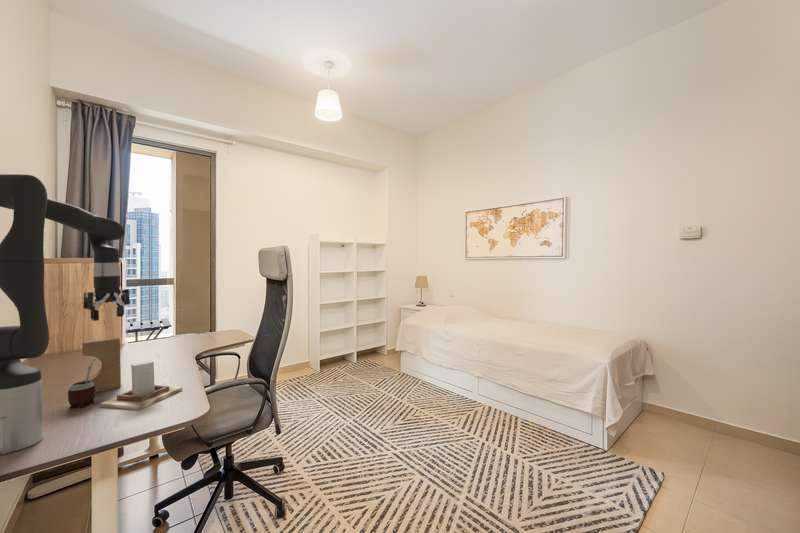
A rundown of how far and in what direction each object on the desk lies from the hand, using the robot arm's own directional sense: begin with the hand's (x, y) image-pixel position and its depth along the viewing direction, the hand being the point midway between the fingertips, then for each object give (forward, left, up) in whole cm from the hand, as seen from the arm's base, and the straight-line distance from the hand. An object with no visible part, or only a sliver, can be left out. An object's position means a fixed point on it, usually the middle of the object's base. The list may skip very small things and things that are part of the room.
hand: (108, 318), depth 122 cm
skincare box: (+3, -12, -29) cm, 32 cm away
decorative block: (+7, +13, -30) cm, 34 cm away
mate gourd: (-6, +4, -30) cm, 31 cm away
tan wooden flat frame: (+3, -12, -30) cm, 33 cm away
